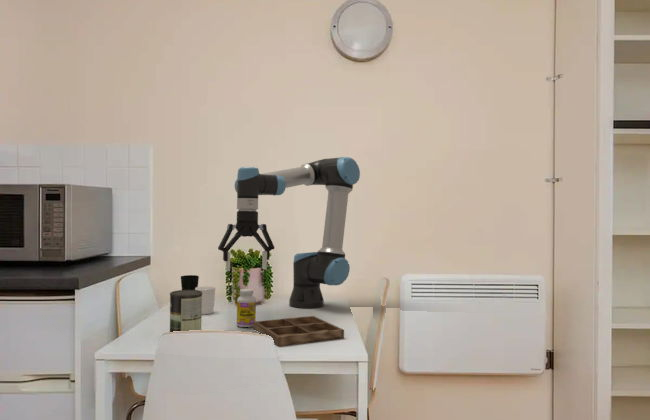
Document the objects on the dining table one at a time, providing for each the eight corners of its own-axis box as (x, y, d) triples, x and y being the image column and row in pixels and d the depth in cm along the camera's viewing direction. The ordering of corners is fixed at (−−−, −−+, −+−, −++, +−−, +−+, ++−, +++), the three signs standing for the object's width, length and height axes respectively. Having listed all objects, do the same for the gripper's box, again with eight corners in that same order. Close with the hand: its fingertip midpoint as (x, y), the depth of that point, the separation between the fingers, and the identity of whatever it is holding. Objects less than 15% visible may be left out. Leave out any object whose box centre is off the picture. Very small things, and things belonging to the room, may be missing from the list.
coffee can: (164, 338, 157) (165, 294, 157) (175, 330, 167) (176, 289, 167) (196, 339, 157) (197, 295, 157) (205, 331, 167) (206, 290, 167)
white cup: (200, 315, 191) (200, 290, 191) (191, 312, 197) (191, 287, 197) (218, 313, 196) (218, 288, 196) (209, 310, 202) (209, 285, 202)
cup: (190, 301, 220) (191, 274, 220) (202, 303, 216) (202, 276, 216) (176, 303, 214) (177, 276, 214) (188, 306, 210) (188, 278, 210)
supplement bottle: (237, 328, 172) (237, 291, 172) (236, 324, 178) (236, 288, 178) (256, 327, 173) (256, 291, 173) (254, 323, 180) (255, 288, 180)
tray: (313, 323, 181) (313, 315, 181) (343, 338, 160) (344, 329, 160) (253, 329, 170) (253, 321, 170) (278, 346, 150) (278, 337, 150)
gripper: (215, 209, 167) (214, 272, 167) (283, 211, 178) (282, 269, 178) (210, 209, 173) (209, 270, 173) (276, 211, 185) (275, 267, 185)
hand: (246, 270), depth 176 cm, fingers open, 13 cm apart
